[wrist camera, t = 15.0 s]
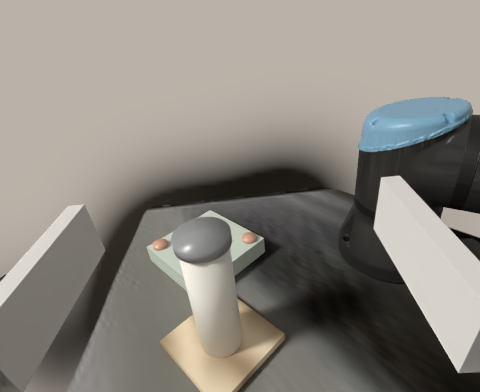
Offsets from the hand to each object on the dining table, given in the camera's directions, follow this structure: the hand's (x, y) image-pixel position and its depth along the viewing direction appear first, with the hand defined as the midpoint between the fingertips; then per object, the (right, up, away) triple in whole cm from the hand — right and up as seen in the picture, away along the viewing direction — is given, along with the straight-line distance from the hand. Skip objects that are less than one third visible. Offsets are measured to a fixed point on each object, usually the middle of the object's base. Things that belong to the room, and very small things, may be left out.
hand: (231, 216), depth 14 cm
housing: (-5, -9, +38) cm, 40 cm away
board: (-2, -17, +24) cm, 30 cm away
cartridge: (-2, -17, +23) cm, 29 cm away
